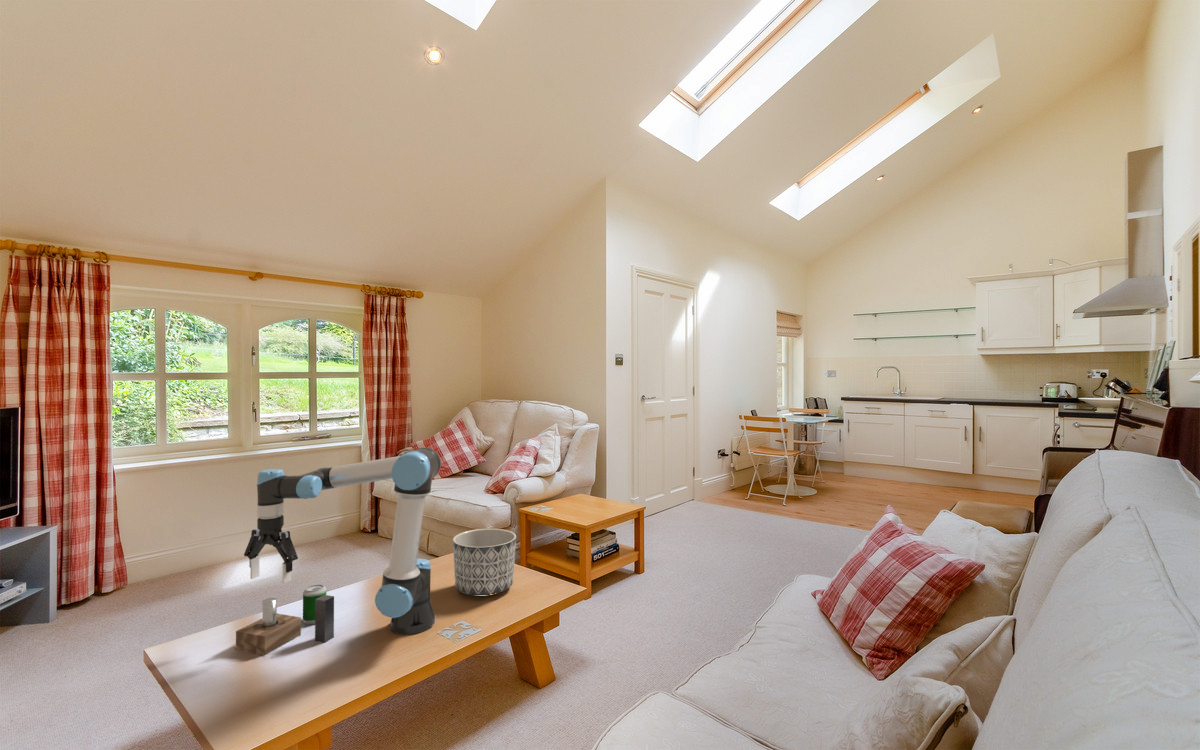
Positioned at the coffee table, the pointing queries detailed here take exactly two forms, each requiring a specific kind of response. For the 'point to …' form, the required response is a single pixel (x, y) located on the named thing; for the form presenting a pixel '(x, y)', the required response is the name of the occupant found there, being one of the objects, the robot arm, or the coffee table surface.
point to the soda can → (311, 602)
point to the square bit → (324, 618)
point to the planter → (484, 561)
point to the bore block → (268, 635)
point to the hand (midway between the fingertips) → (270, 579)
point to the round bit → (269, 612)
